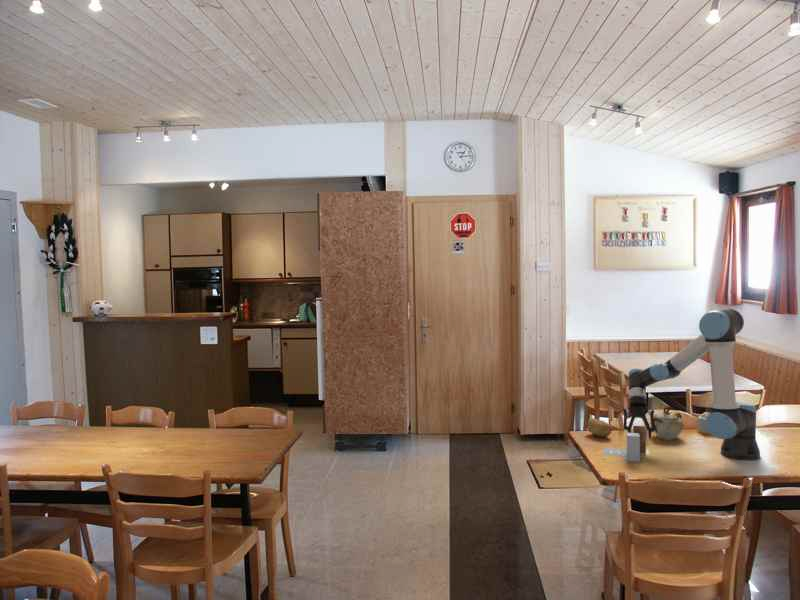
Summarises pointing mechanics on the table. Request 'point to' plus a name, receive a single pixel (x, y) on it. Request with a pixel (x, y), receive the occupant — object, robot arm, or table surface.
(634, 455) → the bluegrey block
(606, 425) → the potato
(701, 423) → the lumpy-topped squat cylinder
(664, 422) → the sugar bowl
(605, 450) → the code tile
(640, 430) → the walnut block
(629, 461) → the code tile
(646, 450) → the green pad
